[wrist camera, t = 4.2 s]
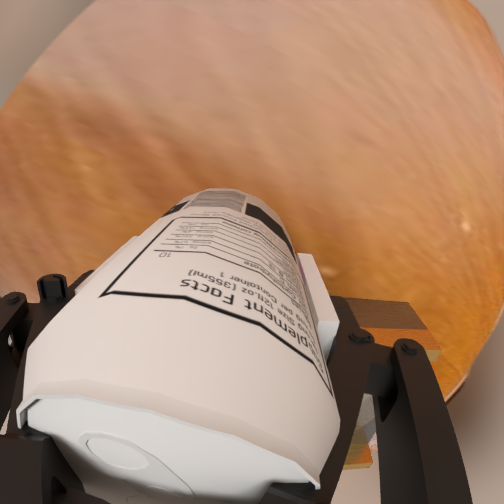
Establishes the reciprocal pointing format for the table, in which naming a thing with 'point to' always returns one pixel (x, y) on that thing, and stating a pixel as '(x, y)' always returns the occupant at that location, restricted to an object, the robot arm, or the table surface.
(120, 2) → the table surface
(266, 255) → the supplement can
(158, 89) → the table surface
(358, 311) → the grey boxy piece
